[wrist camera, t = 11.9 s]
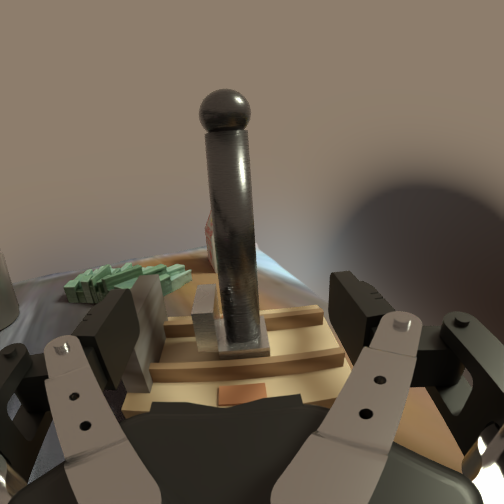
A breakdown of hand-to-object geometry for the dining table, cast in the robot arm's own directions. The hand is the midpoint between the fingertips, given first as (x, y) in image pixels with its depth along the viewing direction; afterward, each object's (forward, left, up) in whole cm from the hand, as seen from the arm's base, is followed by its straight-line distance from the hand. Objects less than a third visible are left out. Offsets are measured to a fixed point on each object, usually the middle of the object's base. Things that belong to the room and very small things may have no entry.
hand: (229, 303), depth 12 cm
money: (-34, -9, -14) cm, 38 cm away
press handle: (-11, +2, -11) cm, 16 cm away
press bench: (-11, +2, -13) cm, 17 cm away
